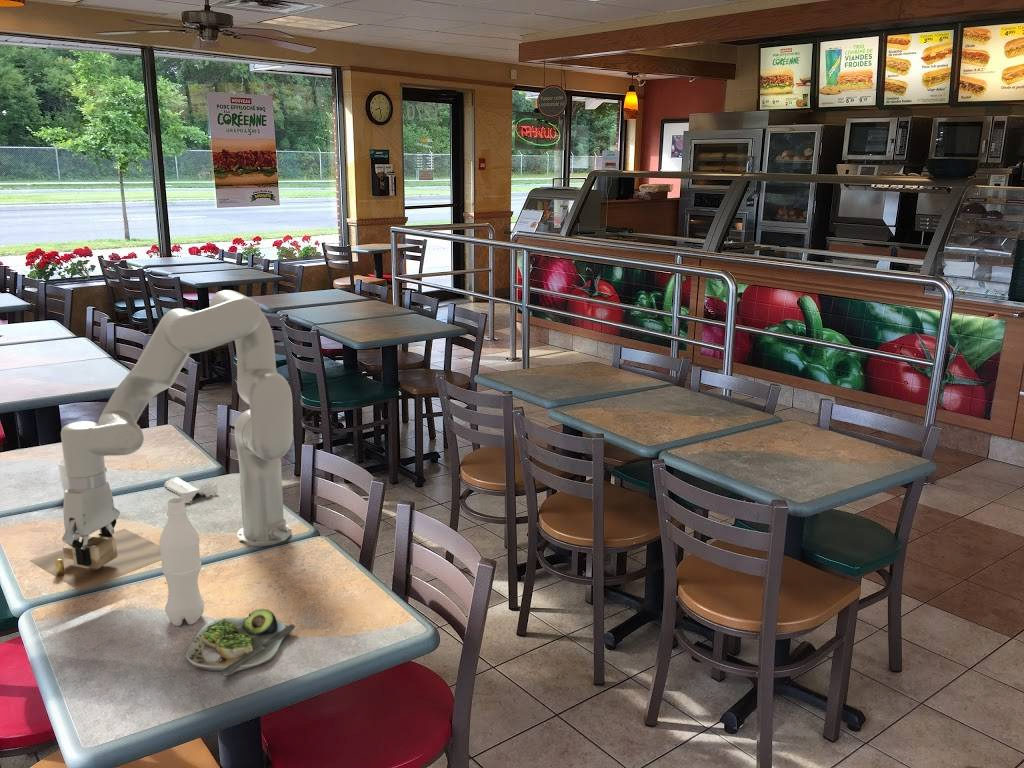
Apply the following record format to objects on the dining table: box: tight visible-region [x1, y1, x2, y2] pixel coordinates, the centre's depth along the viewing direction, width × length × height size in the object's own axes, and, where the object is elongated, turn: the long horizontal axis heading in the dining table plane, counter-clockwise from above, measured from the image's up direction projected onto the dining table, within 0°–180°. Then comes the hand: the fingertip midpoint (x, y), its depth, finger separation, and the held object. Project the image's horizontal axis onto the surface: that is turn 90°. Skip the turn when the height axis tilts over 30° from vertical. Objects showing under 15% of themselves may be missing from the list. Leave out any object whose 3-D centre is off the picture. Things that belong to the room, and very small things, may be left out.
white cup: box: [57, 458, 68, 495], centre depth 224 cm, size 8×8×10 cm
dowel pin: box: [55, 558, 65, 577], centre depth 179 cm, size 2×2×4 cm
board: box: [29, 528, 162, 592], centre depth 187 cm, size 22×22×6 cm
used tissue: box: [164, 476, 220, 504], centre depth 229 cm, size 11×18×4 cm, turn 37°
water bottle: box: [158, 497, 205, 627], centre depth 162 cm, size 7×7×25 cm
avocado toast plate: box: [185, 608, 296, 677], centre depth 154 cm, size 19×18×5 cm
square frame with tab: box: [62, 533, 117, 569], centre depth 182 cm, size 10×6×4 cm, turn 74°
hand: (95, 557), depth 182 cm, fingers closed on square frame with tab, 6 cm apart
